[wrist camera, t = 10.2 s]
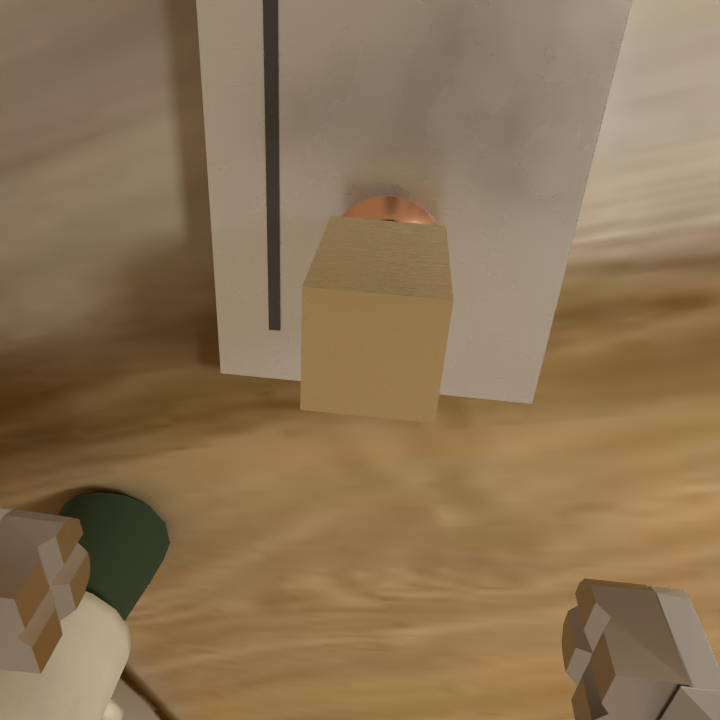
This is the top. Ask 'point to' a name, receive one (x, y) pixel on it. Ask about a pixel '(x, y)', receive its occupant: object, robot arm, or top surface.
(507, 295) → the bolt plate
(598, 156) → the top surface
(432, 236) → the wooden block peg
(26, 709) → the character mug
